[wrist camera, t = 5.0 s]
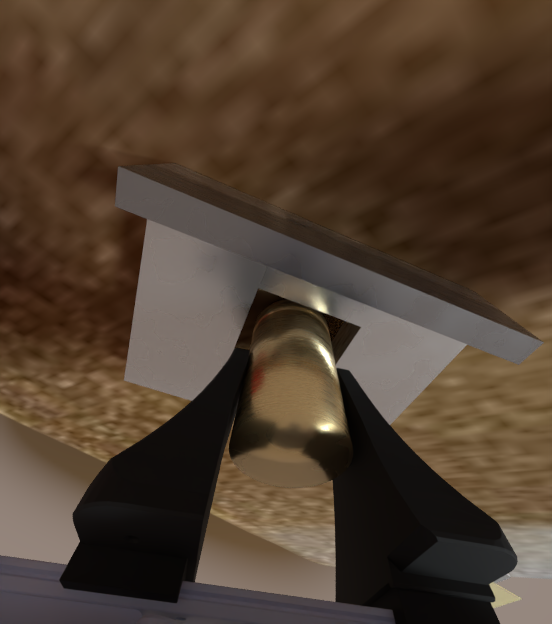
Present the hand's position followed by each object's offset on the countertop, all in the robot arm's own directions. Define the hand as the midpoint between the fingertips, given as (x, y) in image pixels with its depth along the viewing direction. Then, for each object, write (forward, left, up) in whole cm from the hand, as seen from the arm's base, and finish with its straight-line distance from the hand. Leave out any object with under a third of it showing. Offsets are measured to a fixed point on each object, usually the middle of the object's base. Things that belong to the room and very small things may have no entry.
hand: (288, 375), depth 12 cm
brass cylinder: (0, 0, -3) cm, 3 cm away
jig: (0, 0, -4) cm, 4 cm away
